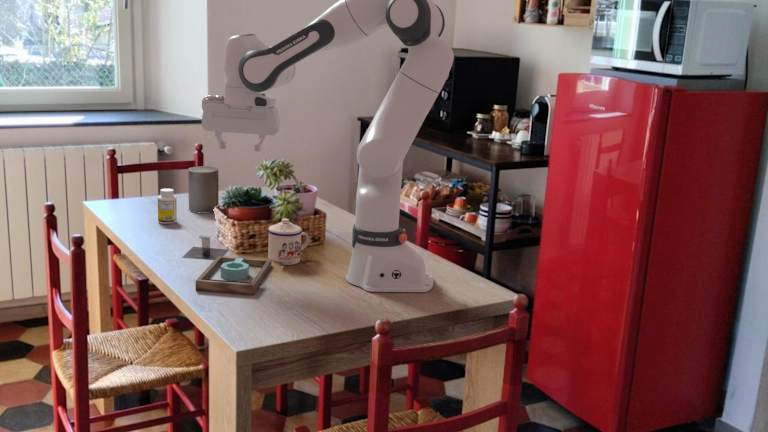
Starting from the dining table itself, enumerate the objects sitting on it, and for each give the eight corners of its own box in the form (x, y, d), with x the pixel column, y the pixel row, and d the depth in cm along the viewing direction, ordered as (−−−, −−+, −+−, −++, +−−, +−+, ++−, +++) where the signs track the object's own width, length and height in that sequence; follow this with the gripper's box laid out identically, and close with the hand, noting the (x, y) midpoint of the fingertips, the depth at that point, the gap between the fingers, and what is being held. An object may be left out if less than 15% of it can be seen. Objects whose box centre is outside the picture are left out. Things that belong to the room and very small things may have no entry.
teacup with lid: (278, 268, 213) (279, 225, 210) (261, 258, 220) (261, 217, 217) (316, 261, 220) (318, 220, 217) (298, 252, 227) (300, 212, 224)
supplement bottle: (166, 218, 253) (166, 186, 251) (180, 221, 251) (180, 189, 248) (154, 222, 248) (153, 189, 246) (167, 225, 246) (167, 192, 243)
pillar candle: (221, 207, 271) (220, 162, 268) (215, 214, 262) (215, 168, 258) (191, 205, 271) (191, 161, 267) (185, 212, 262) (184, 167, 258)
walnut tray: (271, 269, 211) (271, 260, 211) (253, 295, 192) (253, 285, 192) (218, 265, 212) (218, 256, 212) (195, 290, 193) (195, 280, 192)
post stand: (229, 253, 223) (229, 233, 221) (219, 264, 213) (219, 243, 212) (193, 250, 223) (193, 230, 222) (181, 261, 214) (181, 240, 212)
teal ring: (245, 282, 199) (245, 270, 198) (218, 280, 199) (219, 268, 198) (252, 270, 208) (252, 258, 207) (227, 268, 208) (227, 257, 207)
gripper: (198, 95, 209) (198, 148, 212) (276, 101, 207) (275, 154, 211) (205, 93, 215) (205, 145, 218) (281, 98, 214) (280, 150, 217)
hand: (240, 149), depth 214 cm, fingers open, 8 cm apart
